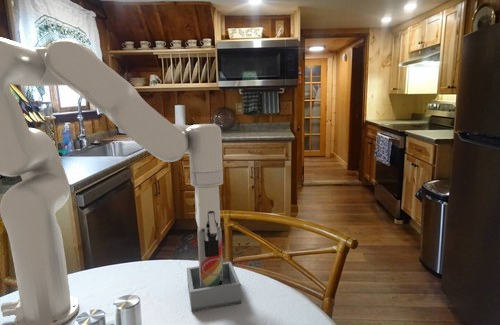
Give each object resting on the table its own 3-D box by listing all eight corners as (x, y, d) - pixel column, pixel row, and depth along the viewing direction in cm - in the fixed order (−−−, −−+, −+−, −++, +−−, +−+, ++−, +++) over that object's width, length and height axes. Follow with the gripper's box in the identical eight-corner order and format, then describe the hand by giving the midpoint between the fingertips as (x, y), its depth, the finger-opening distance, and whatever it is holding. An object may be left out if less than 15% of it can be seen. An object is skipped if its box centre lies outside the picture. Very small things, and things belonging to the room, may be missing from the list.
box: (191, 312, 76) (190, 291, 75) (187, 285, 87) (186, 267, 86) (241, 303, 79) (240, 283, 78) (231, 278, 90) (230, 261, 89)
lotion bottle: (219, 293, 79) (216, 212, 76) (196, 290, 80) (192, 211, 77) (226, 280, 85) (223, 204, 81) (204, 278, 86) (201, 204, 82)
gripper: (187, 171, 85) (191, 238, 88) (193, 187, 69) (198, 269, 72) (217, 169, 87) (219, 235, 90) (229, 184, 70) (232, 264, 74)
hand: (210, 249), depth 81 cm, fingers closed on lotion bottle, 5 cm apart
